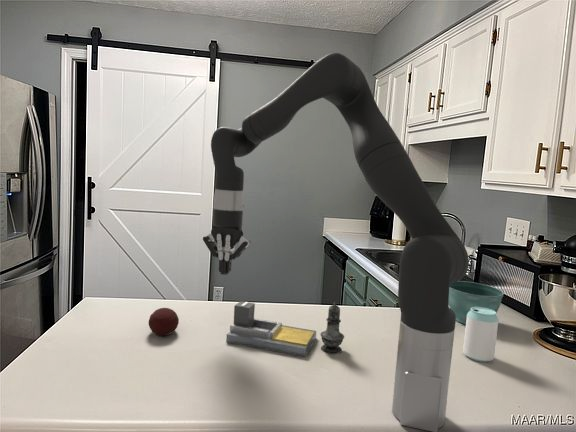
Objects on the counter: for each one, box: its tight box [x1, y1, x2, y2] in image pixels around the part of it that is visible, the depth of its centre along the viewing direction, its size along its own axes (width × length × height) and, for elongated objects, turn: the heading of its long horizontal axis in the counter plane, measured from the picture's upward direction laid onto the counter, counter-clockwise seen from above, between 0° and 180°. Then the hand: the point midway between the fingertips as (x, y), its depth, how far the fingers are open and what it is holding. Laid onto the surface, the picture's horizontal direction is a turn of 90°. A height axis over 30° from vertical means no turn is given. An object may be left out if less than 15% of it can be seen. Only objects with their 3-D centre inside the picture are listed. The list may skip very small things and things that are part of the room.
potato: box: [148, 307, 180, 337], centre depth 106 cm, size 7×10×6 cm
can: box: [462, 307, 499, 363], centre depth 103 cm, size 7×7×12 cm
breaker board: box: [226, 317, 317, 358], centre depth 105 cm, size 12×20×4 cm, turn 74°
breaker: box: [233, 300, 256, 327], centre depth 107 cm, size 4×4×6 cm
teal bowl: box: [449, 280, 504, 325], centre depth 129 cm, size 16×16×11 cm
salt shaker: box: [320, 301, 345, 355], centre depth 102 cm, size 6×6×12 cm
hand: (224, 273), depth 108 cm, fingers closed
